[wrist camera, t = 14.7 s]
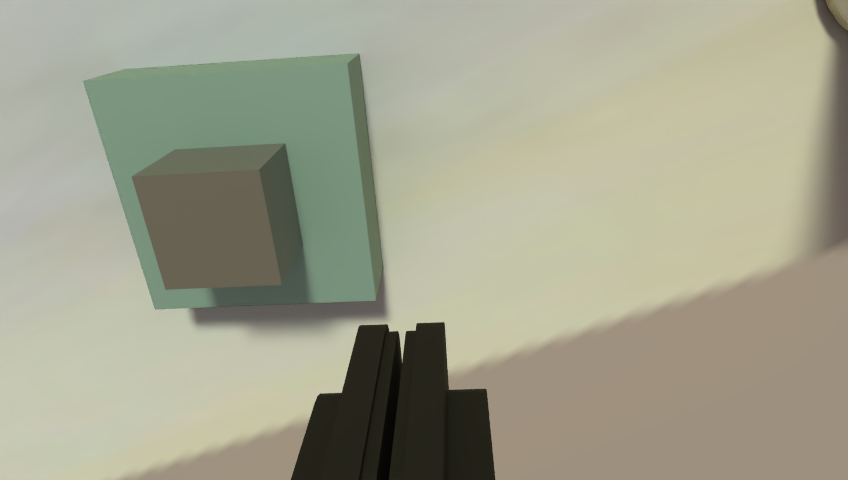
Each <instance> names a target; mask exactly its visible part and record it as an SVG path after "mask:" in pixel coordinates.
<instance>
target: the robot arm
mask: <svg viewBox="0 0 848 480" xmlns="http://www.w3.org/2000/svg"><path fill="white" fill-rule="evenodd" d="M826 3H827V6H828V8H829V10H830V11H831V13H832V14H833V16H834V17H835V19H836V20H837V22H838V23H839V24H840V25H841V26H842V27H843V28H844V29H846V30H847V31H848V0H826ZM291 480H495V472H494V462H493V452H492V441H491V431H490V421H489V410H488V399H487V391H486V389H468V390H467V389H466V390H449V386H448V370H447V354H446V338H445V324H444V322H441V323H417V326H416V331H406V336H405V345H404V353H403V362H402V358H401V348H400V338H399V333H398V331H396V332H389V328H388V325H387V324H386V325H360V326H359V328H358V332H357V336H356V340H355V344H354V347H353V351H352V355H351V359H350V363H349V367H348V371H347V375H346V379H345V383H344V387H343V391H342V393H327V394H319V395H318V397H317V399H316V401H315V404H314V407H313V411H312V414H311V417H310V420H309V423H308V427H307V430H306V433H305V436H304V439H303V443H302V446H301V449H300V452H299V455H298V459H297V462H296V465H295V468H294V471H293V475H292V478H291Z"/></svg>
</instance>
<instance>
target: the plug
mask: <svg viewBox="0 0 848 480" xmlns="http://www.w3.org/2000/svg"><path fill="white" fill-rule="evenodd" d="M132 180H133V184H134V187H135V190H136V193H137V197H138V200H139V203H140V207H141V210H142V213H143V217H144V220H145V223H146V227H147V230H148V233H149V237H150V240H151V243H152V247H153V250H154V253H155V257H156V260H157V263H158V267H159V270H160V273H161V277H162V280H163V283H164V287H165V290H172V289H197V288H221V287H246V286H270V285H282V284H283V282H284V280H285V278H286V277H287V275H288V273H289V271H290V269H291V267H292V265H293V264H294V262H295V260H296V258H297V256H298V254H299V253H300V251H301V249H302V247H303V242H302V236H301V230H300V225H299V219H298V213H297V207H296V202H295V196H294V190H293V185H292V179H291V173H290V167H289V162H288V156H287V150H286V145H285V143H279V144H262V145H244V146H227V147H209V148H192V149H175V150H173V151H172V152H170V153H168V154H167V155H165V156H164V157H162V158H160V159H159V160H157V161H156V162H154V163H152V164H151V165H149V166H148V167H146V168H144V169H143V170H141V171H140V172H138V173H136V174H135V175H133V176H132Z"/></svg>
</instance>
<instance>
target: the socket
mask: <svg viewBox="0 0 848 480" xmlns="http://www.w3.org/2000/svg"><path fill="white" fill-rule="evenodd" d="M83 83H84V86H85V89H86V92H87V95H88V98H89V102H90V105H91V108H92V111H93V114H94V117H95V121H96V124H97V127H98V130H99V133H100V136H101V140H102V143H103V146H104V149H105V152H106V155H107V159H108V162H109V165H110V168H111V171H112V175H113V178H114V181H115V184H116V187H117V190H118V194H119V197H120V200H121V203H122V206H123V209H124V213H125V216H126V219H127V222H128V225H129V228H130V232H131V235H132V238H133V241H134V244H135V247H136V251H137V254H138V257H139V260H140V263H141V266H142V270H143V273H144V276H145V279H146V282H147V285H148V289H149V292H150V295H151V298H152V301H153V305H154V308H155V309H176V308H202V307H227V306H253V305H278V304H304V303H329V302H355V301H376V298H377V294H378V289H379V285H380V280H381V276H382V271H383V263H382V254H381V245H380V236H379V227H378V218H377V209H376V200H375V191H374V182H373V173H372V164H371V155H370V146H369V137H368V128H367V119H366V110H365V101H364V92H363V83H362V74H361V65H360V56H359V54H345V55H330V56H315V57H301V58H286V59H271V60H256V61H241V62H226V63H212V64H197V65H182V66H167V67H152V68H137V69H124V70H121V71H117V72H114V73H110V74H106V75H103V76H99V77H96V78H92V79H88V80H85V81H83ZM279 143H285V145H286V150H287V156H288V162H289V167H290V173H291V179H292V185H293V190H294V196H295V202H296V207H297V213H298V219H299V225H300V230H301V236H302V242H303V247H302V249H301V251H300V253H299V254H298V256H297V258H296V260H295V262H294V264H293V265H292V267H291V269H290V271H289V273H288V275H287V277H286V278H285V280H284V282H283V284H282V285H270V286H246V287H221V288H197V289H172V290H165V287H164V283H163V280H162V277H161V273H160V270H159V267H158V263H157V260H156V257H155V253H154V250H153V247H152V243H151V240H150V237H149V233H148V230H147V227H146V223H145V220H144V217H143V213H142V210H141V207H140V203H139V200H138V197H137V193H136V190H135V187H134V184H133V180H132V176H133V175H135V174H136V173H138V172H140V171H141V170H143V169H144V168H146V167H148V166H149V165H151V164H152V163H154V162H156V161H157V160H159V159H160V158H162V157H164V156H165V155H167V154H168V153H170V152H172V151H173V150H175V149H192V148H209V147H227V146H244V145H262V144H279Z"/></svg>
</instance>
